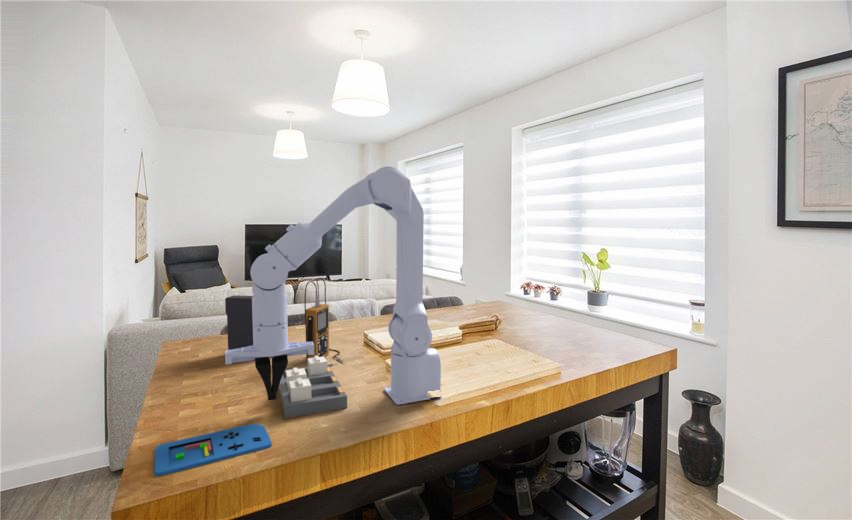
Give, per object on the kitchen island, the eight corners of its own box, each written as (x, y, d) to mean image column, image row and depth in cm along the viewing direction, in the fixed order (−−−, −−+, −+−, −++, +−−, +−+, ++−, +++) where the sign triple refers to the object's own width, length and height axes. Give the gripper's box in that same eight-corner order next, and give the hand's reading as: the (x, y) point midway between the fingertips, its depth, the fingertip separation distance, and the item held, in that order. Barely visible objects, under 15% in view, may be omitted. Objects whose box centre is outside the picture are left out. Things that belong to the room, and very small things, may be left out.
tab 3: (324, 372, 91) (324, 354, 91) (327, 377, 88) (327, 359, 88) (307, 374, 90) (307, 356, 89) (310, 380, 87) (310, 361, 86)
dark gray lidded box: (276, 353, 107) (275, 295, 106) (268, 358, 103) (267, 298, 102) (236, 351, 109) (234, 294, 107) (226, 356, 104) (224, 297, 103)
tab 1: (304, 385, 84) (304, 365, 83) (306, 391, 80) (306, 371, 80) (286, 387, 82) (285, 368, 82) (287, 394, 79) (287, 374, 79)
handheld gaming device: (272, 442, 63) (153, 472, 55) (272, 449, 63) (154, 480, 55) (261, 419, 70) (155, 443, 62) (262, 426, 70) (155, 450, 62)
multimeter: (338, 371, 95) (337, 284, 93) (298, 368, 97) (296, 282, 95) (361, 352, 109) (361, 276, 108) (325, 349, 111) (324, 275, 109)
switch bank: (328, 374, 93) (328, 364, 93) (347, 407, 76) (347, 395, 76) (277, 381, 89) (277, 370, 89) (285, 418, 72) (284, 405, 72)
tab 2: (308, 396, 78) (308, 376, 78) (311, 404, 75) (311, 382, 75) (289, 399, 77) (288, 378, 77) (291, 407, 74) (290, 385, 73)
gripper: (309, 314, 79) (310, 383, 80) (225, 321, 73) (227, 395, 75) (315, 322, 73) (316, 397, 74) (223, 330, 67) (226, 411, 68)
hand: (272, 397), depth 74 cm, fingers closed
